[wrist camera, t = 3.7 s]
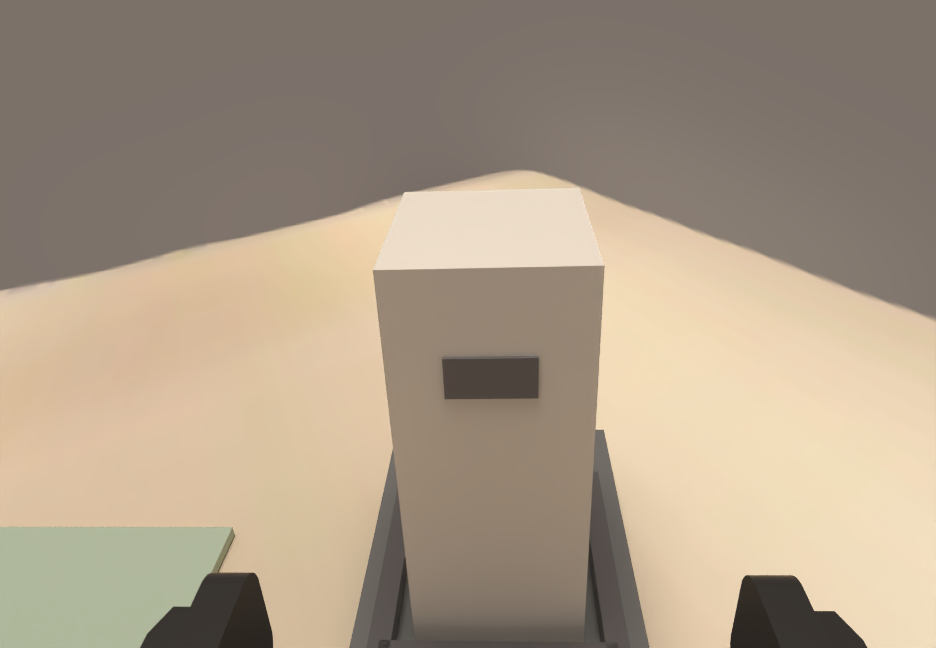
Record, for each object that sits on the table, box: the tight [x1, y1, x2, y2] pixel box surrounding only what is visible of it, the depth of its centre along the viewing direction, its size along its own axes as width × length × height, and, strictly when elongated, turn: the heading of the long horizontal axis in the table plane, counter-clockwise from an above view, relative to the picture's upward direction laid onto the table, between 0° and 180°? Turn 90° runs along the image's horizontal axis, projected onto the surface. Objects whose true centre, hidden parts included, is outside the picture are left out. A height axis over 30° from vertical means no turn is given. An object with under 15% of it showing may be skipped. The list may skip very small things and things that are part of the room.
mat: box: [0, 527, 234, 648], centre depth 22 cm, size 10×10×1 cm
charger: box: [373, 188, 604, 642], centre depth 18 cm, size 5×4×11 cm
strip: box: [350, 430, 649, 648], centre depth 23 cm, size 38×8×3 cm, turn 178°
